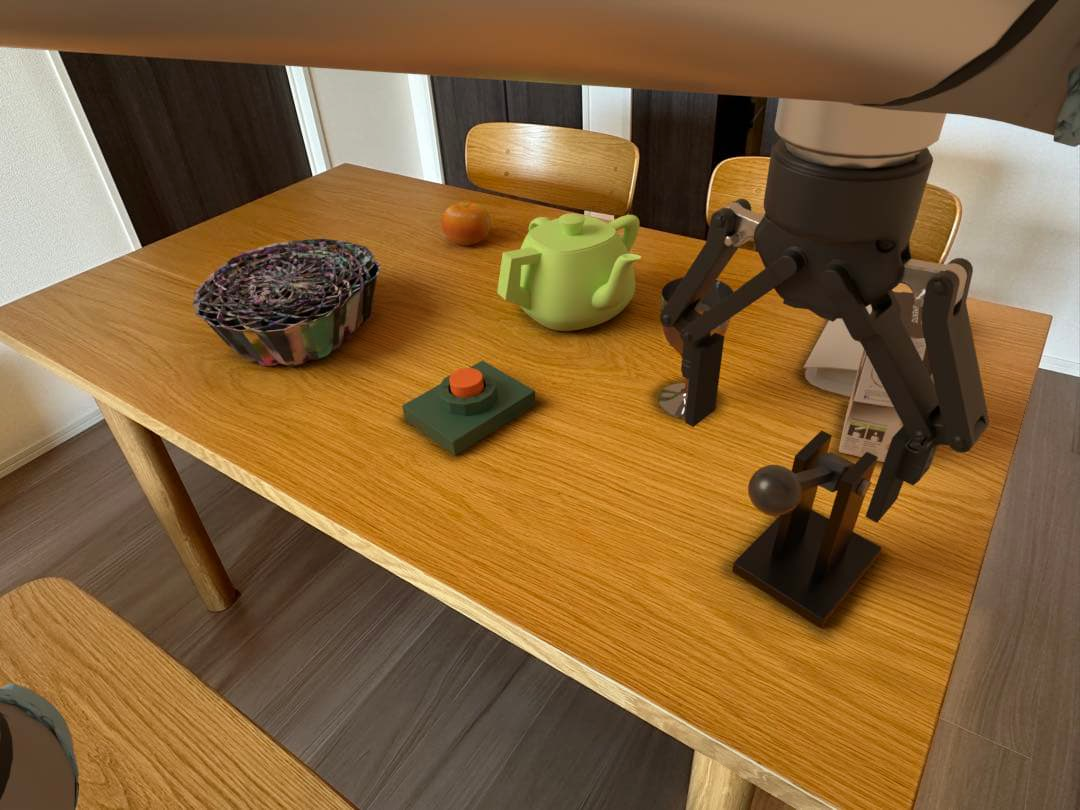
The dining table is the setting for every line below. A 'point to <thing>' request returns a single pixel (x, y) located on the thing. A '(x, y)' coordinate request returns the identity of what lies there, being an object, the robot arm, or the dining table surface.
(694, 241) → the dining table surface
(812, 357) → the white open box
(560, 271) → the teapot
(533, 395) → the button box
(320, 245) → the decorative bowl
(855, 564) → the bracket
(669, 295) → the wine glass
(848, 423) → the coffee box
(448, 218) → the fruit
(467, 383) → the button
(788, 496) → the lever
